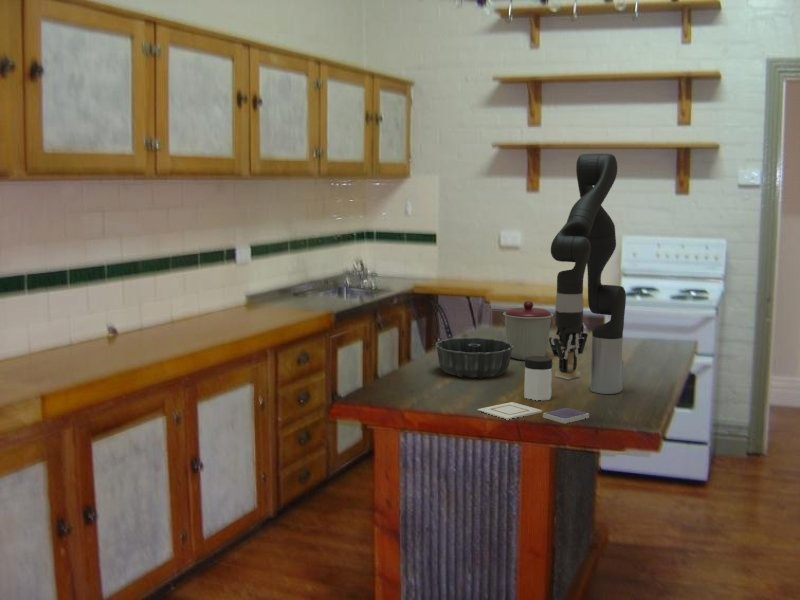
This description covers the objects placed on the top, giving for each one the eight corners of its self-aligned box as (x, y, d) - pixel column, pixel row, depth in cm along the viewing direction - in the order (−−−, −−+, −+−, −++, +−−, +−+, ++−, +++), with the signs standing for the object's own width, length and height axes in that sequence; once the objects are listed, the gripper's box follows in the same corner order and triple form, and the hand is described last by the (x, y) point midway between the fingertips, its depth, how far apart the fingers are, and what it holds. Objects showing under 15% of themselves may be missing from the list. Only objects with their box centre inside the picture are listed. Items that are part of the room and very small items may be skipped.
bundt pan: (509, 383, 300) (510, 353, 298) (428, 379, 305) (429, 349, 304) (516, 367, 325) (516, 339, 324) (441, 363, 331) (441, 336, 329)
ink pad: (567, 411, 265) (567, 407, 264) (589, 417, 258) (589, 412, 258) (542, 417, 258) (543, 412, 258) (564, 423, 252) (564, 418, 252)
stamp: (566, 375, 260) (567, 349, 259) (580, 378, 257) (580, 352, 256) (555, 377, 257) (555, 352, 256) (568, 380, 254) (569, 354, 253)
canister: (555, 363, 332) (557, 304, 329) (504, 362, 332) (505, 304, 329) (548, 353, 350) (549, 298, 347) (500, 353, 350) (501, 297, 347)
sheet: (512, 404, 273) (512, 401, 273) (542, 412, 264) (542, 410, 264) (477, 411, 265) (477, 409, 265) (507, 420, 255) (507, 418, 255)
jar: (557, 397, 281) (559, 358, 280) (542, 402, 275) (543, 362, 274) (533, 392, 287) (534, 354, 286) (517, 397, 282) (518, 358, 280)
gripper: (575, 304, 261) (574, 365, 264) (541, 309, 253) (540, 372, 255) (596, 308, 255) (595, 369, 258) (562, 313, 247) (560, 376, 249)
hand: (567, 370), depth 257 cm, fingers closed on stamp, 3 cm apart
